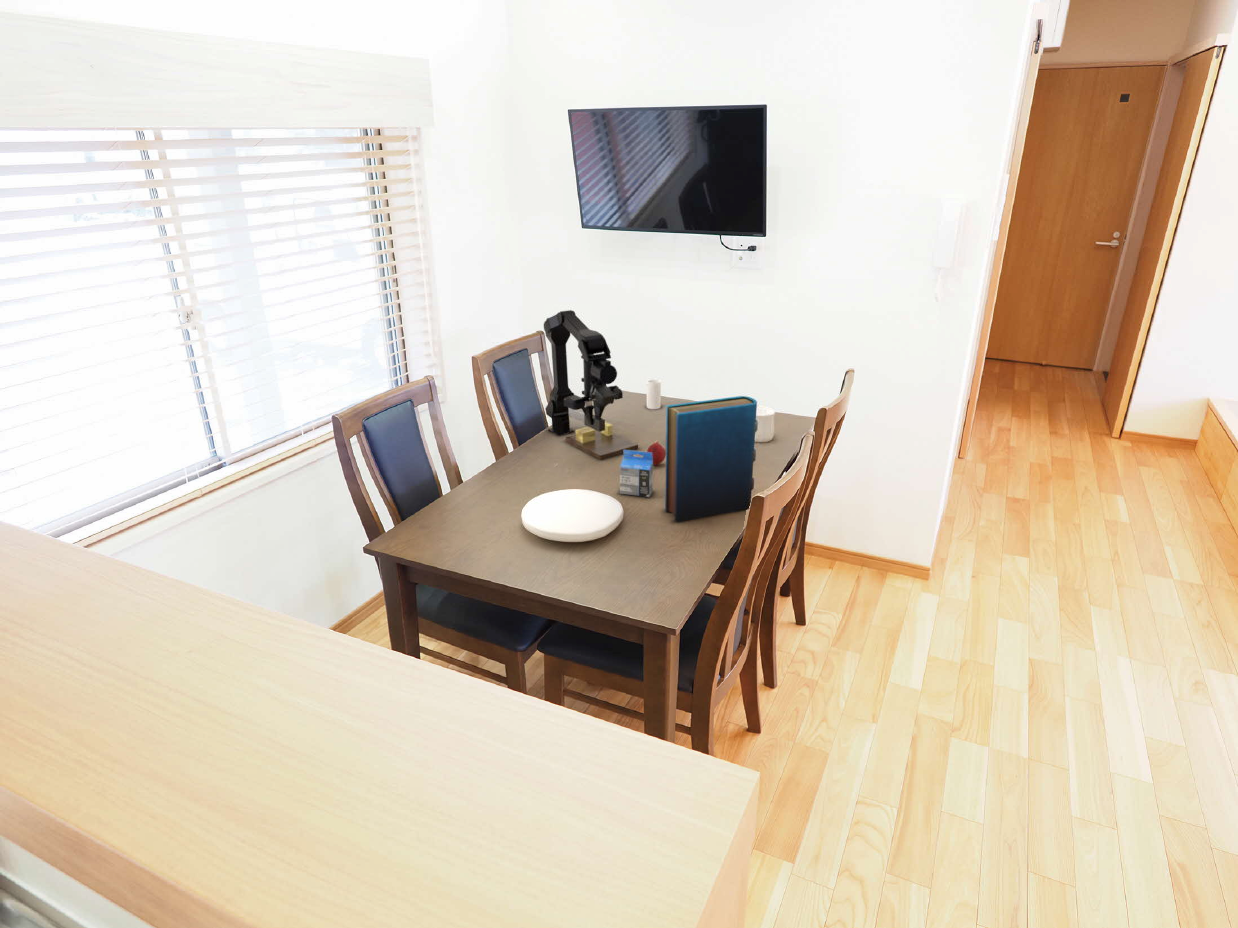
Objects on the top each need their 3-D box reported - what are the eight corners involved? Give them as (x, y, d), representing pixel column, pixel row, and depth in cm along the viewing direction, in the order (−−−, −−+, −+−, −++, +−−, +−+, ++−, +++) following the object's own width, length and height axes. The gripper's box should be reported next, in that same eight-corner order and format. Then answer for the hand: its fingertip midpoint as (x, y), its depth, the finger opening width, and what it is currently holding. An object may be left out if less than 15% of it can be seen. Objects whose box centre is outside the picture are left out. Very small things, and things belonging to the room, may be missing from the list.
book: (741, 495, 222) (747, 392, 210) (757, 507, 215) (763, 402, 203) (663, 508, 215) (663, 404, 203) (676, 522, 207) (677, 414, 195)
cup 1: (647, 404, 295) (647, 379, 291) (660, 404, 295) (661, 379, 291) (646, 409, 290) (646, 383, 286) (660, 409, 290) (660, 383, 286)
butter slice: (600, 432, 264) (600, 423, 263) (605, 431, 265) (605, 421, 264) (607, 436, 261) (607, 426, 260) (612, 434, 262) (612, 425, 261)
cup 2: (751, 430, 269) (752, 403, 265) (778, 436, 264) (780, 408, 260) (738, 438, 262) (740, 411, 258) (766, 445, 257) (768, 416, 253)
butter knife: (605, 430, 243) (605, 419, 241) (599, 431, 242) (599, 421, 240) (571, 414, 256) (571, 404, 254) (566, 416, 255) (566, 406, 253)
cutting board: (565, 441, 261) (564, 427, 259) (602, 431, 269) (601, 417, 267) (600, 460, 246) (600, 445, 245) (638, 448, 255) (638, 434, 253)
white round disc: (528, 485, 218) (624, 485, 218) (529, 507, 220) (624, 507, 220) (513, 521, 191) (622, 522, 191) (514, 546, 193) (622, 547, 193)
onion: (659, 470, 238) (659, 446, 235) (643, 466, 241) (643, 442, 238) (668, 464, 243) (669, 440, 240) (652, 460, 246) (652, 436, 243)
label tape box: (619, 494, 223) (618, 454, 219) (623, 488, 227) (623, 449, 222) (649, 497, 221) (649, 457, 216) (653, 491, 225) (653, 452, 220)
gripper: (583, 387, 227) (585, 438, 234) (633, 375, 238) (633, 424, 244) (561, 379, 236) (564, 427, 242) (611, 367, 246) (612, 415, 252)
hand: (594, 423), depth 245 cm, fingers closed on butter knife, 2 cm apart
